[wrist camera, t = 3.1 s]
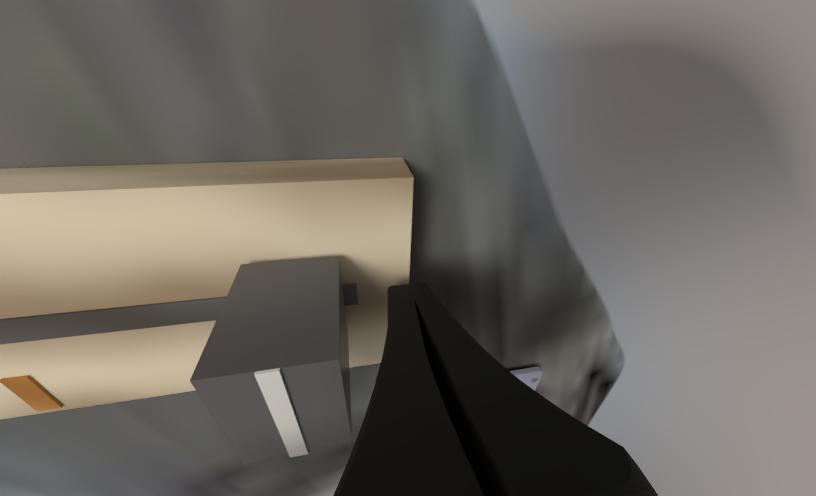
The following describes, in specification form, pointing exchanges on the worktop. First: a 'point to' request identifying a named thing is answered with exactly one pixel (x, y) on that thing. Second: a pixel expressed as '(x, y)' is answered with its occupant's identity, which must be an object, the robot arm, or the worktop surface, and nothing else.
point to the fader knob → (280, 360)
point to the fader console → (176, 265)
